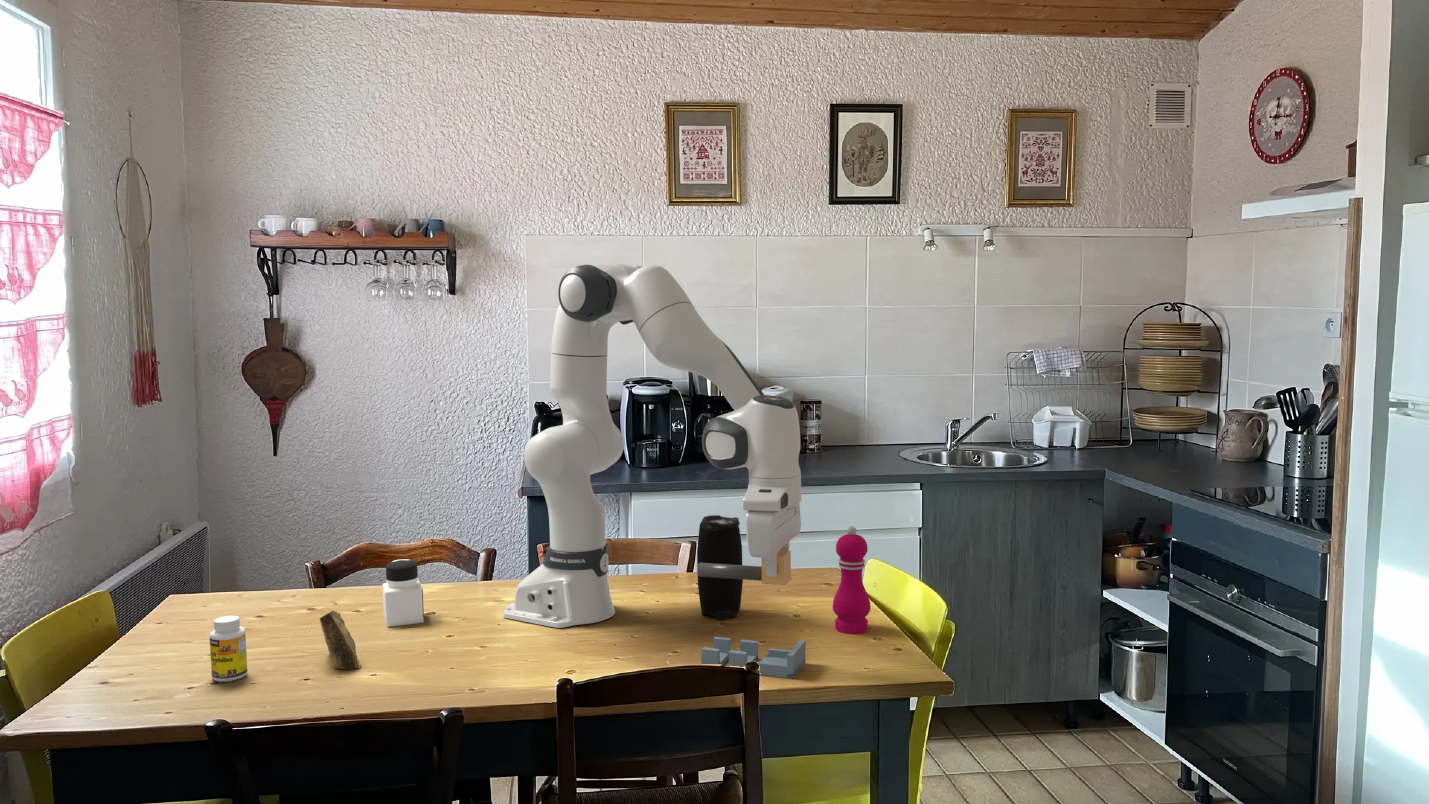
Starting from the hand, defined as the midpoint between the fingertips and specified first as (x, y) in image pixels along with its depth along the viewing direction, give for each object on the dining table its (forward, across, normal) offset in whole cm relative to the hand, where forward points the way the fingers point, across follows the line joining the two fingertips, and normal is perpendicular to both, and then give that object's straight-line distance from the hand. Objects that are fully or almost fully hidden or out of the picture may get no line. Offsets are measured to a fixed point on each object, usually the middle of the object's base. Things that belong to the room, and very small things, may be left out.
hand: (776, 571), depth 180 cm
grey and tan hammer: (+2, 0, -6) cm, 6 cm away
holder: (+17, 0, 0) cm, 17 cm away
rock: (+16, +20, -75) cm, 79 cm away
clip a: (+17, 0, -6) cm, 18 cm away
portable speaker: (+17, -26, -20) cm, 36 cm away
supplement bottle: (+16, +33, -88) cm, 95 cm away
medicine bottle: (+16, -3, -79) cm, 80 cm away
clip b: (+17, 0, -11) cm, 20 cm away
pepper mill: (+17, -25, +7) cm, 31 cm away
